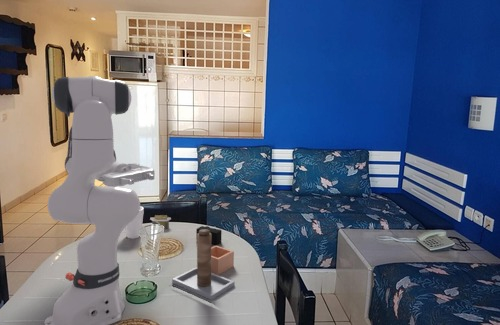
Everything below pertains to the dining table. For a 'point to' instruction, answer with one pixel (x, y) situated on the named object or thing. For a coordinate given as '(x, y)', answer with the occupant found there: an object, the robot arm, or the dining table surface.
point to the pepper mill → (204, 258)
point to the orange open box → (221, 259)
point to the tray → (210, 292)
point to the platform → (160, 220)
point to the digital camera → (212, 234)
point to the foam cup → (135, 225)
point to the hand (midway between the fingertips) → (142, 179)
